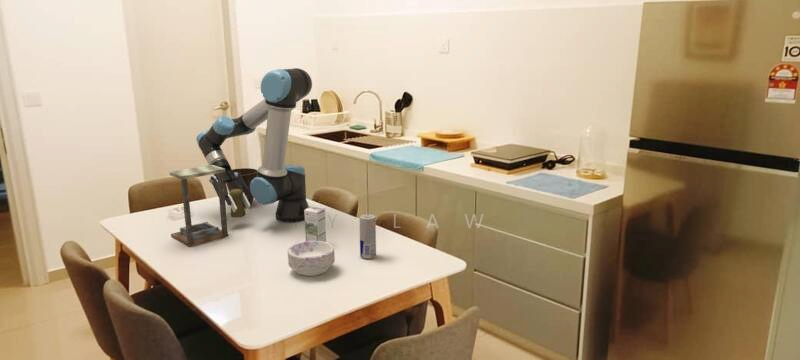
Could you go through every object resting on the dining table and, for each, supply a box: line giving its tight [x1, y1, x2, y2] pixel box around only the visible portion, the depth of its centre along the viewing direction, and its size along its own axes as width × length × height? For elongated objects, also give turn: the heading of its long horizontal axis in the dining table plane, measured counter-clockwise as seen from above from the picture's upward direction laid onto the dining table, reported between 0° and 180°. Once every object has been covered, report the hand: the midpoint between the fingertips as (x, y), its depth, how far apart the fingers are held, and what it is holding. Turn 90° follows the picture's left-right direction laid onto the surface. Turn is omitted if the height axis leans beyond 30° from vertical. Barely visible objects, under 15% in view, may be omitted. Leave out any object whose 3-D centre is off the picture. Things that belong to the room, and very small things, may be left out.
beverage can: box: [359, 213, 377, 260], centre depth 193 cm, size 6×6×15 cm
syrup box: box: [304, 205, 327, 242], centre depth 204 cm, size 6×6×14 cm
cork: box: [228, 189, 247, 219], centre depth 225 cm, size 6×6×11 cm
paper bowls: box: [287, 240, 336, 277], centre depth 183 cm, size 15×15×8 cm
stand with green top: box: [169, 164, 230, 248], centre depth 212 cm, size 17×16×27 cm
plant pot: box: [226, 167, 258, 208], centre depth 255 cm, size 15×15×16 cm
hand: (242, 208), depth 223 cm, fingers closed on cork, 5 cm apart
